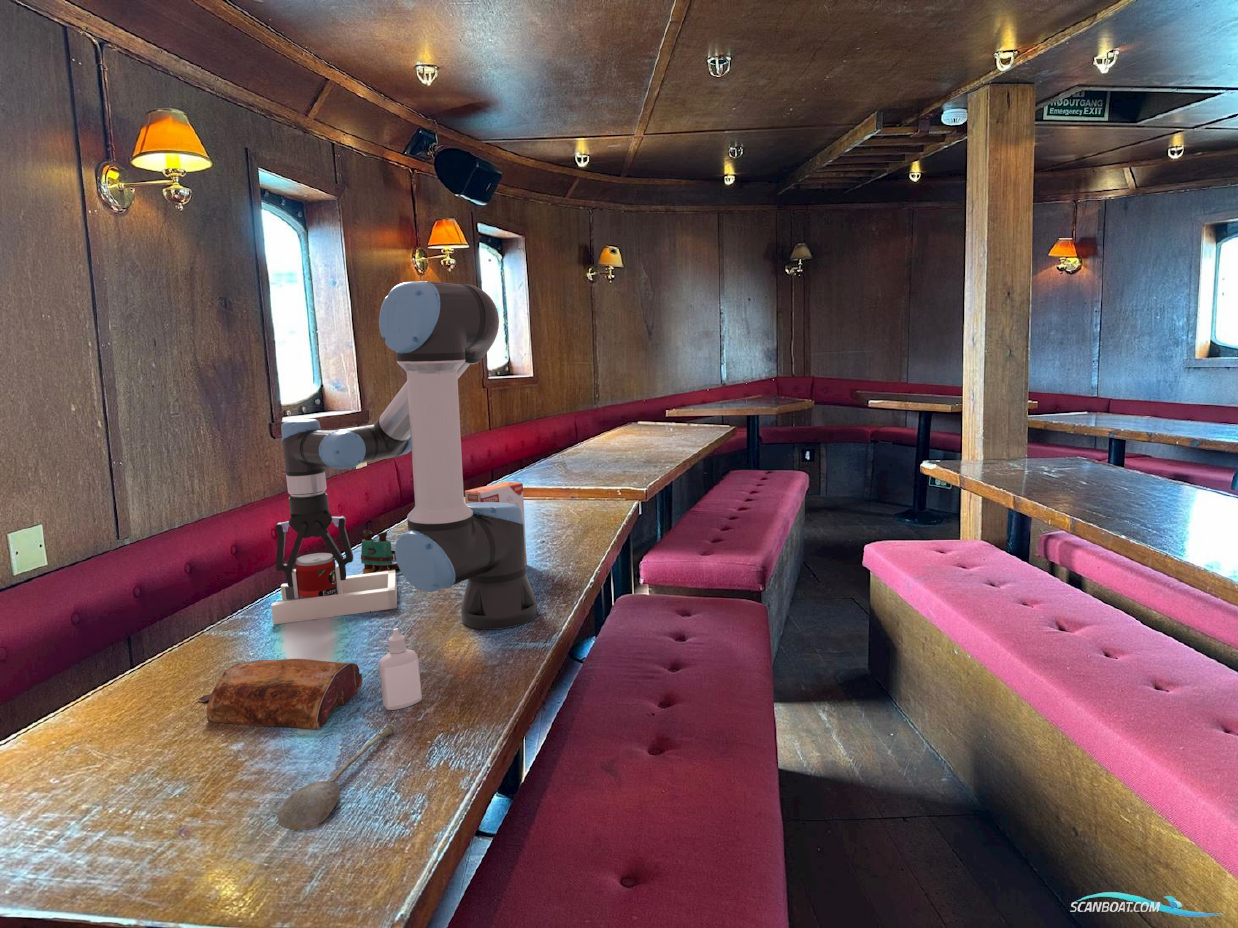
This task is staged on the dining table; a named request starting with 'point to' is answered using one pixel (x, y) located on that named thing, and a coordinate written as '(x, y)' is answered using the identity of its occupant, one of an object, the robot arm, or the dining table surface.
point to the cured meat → (282, 692)
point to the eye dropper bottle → (400, 674)
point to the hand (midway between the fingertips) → (319, 597)
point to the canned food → (316, 575)
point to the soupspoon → (319, 795)
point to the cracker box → (499, 496)
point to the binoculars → (377, 553)
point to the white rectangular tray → (339, 599)
